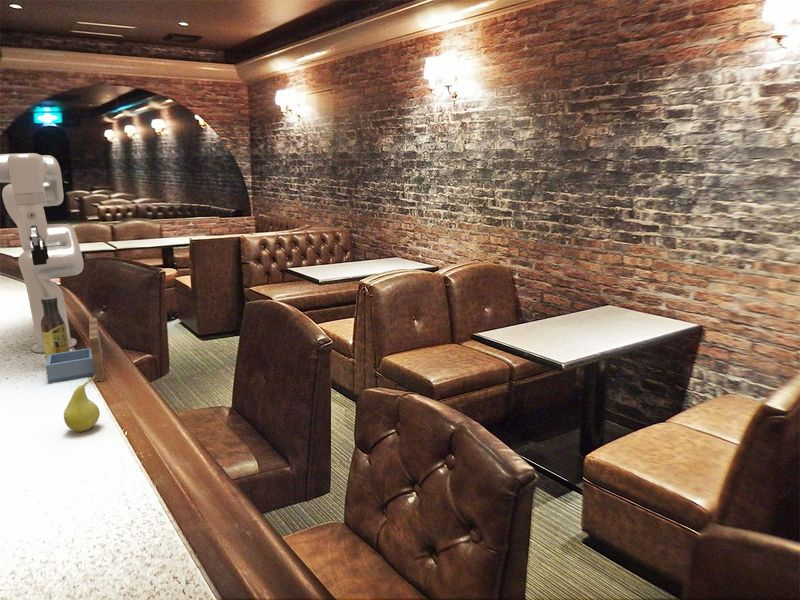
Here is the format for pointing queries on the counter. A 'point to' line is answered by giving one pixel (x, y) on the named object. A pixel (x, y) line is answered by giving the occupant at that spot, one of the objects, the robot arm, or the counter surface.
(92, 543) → the counter surface
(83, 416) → the fruit
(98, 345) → the back board
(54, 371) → the caddy
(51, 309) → the sauce bottle
